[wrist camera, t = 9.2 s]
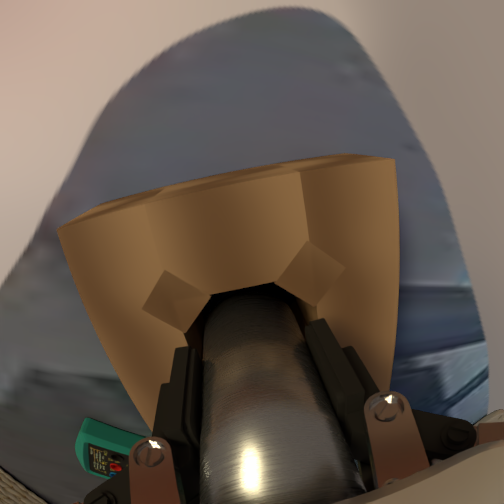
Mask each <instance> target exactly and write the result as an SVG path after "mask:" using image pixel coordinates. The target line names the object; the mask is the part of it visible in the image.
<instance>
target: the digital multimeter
mask: <svg viewBox="0 0 504 504" xmlns="http://www.w3.org/2000/svg"><path fill="white" fill-rule="evenodd" d="M144 438H147V437H144V436H141V435H138V434H134V433H131V432H128V431H124V430H121V429H118V428H116V427H113V426H110V425H107V424H105V423H102V422H100V421H97V420H94V419H91V418H85V420H84V422H83V424H82V426H81V429H80V431H79V434H78V437H77V440H76V444H75V451H76V455H77V457H78V459H79V461H80V463H81V465H82V467H83V468H84V469H85V470H86V471H87V472H88V473H91V474H94V475H97V476H100V477H103V478H106V479H110V478H111V477H113V476H114V475H115V474H117V473H118V472H120V471H121V470H122V469H124V468H125V467H127V466H128V465H129V453H130V450H131V448H132V446H133V445H134V444H135V443H136V442H138V441H140V440H141V439H144ZM88 452H89V454H88Z"/></svg>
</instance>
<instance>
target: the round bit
mask: <svg viewBox="0 0 504 504" xmlns="http://www.w3.org/2000/svg"><path fill="white" fill-rule="evenodd" d="M365 493H367V491H366V489H365V486H364V484H363V481H362V479H361V476H360V474H359V471H358V469H357V466H356V464H355V461H354V459H353V456H352V454H351V451H350V449H349V446H348V444H347V441H346V439H345V436H344V434H343V431H342V429H341V426H340V424H339V422H338V419H337V417H336V414H335V412H334V409H333V407H332V404H331V402H330V400H329V397H328V395H327V392H326V390H325V387H324V385H323V383H322V380H321V378H320V375H319V373H318V371H317V368H316V366H315V363H314V361H313V359H312V356H311V354H310V351H309V349H308V347H307V344H306V342H305V340H304V337H303V335H302V332H301V330H300V328H299V325H298V323H297V321H296V318H295V316H294V314H293V312H292V310H291V308H290V307H289V306H288V305H287V304H286V303H285V302H284V301H283V300H281V299H280V298H278V297H276V296H274V295H271V294H268V293H264V292H256V291H252V292H242V293H238V294H235V295H232V296H230V297H228V298H226V299H224V300H223V301H221V302H220V303H219V304H217V305H216V306H215V307H214V308H213V310H212V311H211V312H210V314H209V316H208V318H207V320H206V323H205V328H204V344H203V364H202V388H201V419H200V504H332V503H336V502H339V501H343V500H346V499H349V498H353V497H356V496H359V495H362V494H365Z"/></svg>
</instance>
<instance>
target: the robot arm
mask: <svg viewBox="0 0 504 504" xmlns="http://www.w3.org/2000/svg"><path fill="white" fill-rule="evenodd" d="M305 336H306V344H307V347H308V349H309V351H310V354H311V356H312V359H313V361H314V363H315V366H316V368H317V371H318V373H319V375H320V378H321V380H322V383H323V385H324V387H325V390H326V392H327V395H328V397H329V400H330V402H331V404H332V407H333V409H334V412H335V414H336V417H337V419H338V422H339V424H340V426H341V429H342V431H343V434H344V436H345V439H346V441H347V444H348V446H349V449H350V451H351V454H352V456H353V459H355V460H357V462H358V469H359V474H360V476H361V479H362V481H363V484H364V486H365V489H366V491H367V493H365V494H362V495H359V496H356V497H353V498H349V499H346V500H343V501H339V502H336V503H332V504H504V410H503V409H499V410H496V411H494V412H492V413H490V414H488V415H487V416H485V417H484V418H482V419H481V420H480V421H478V422H477V423H476V424H474V425H472V424H471V423H469V422H468V421H466V420H462V419H458V418H452V417H447V416H442V415H437V414H433V413H428V412H423V411H419V410H414V409H411V408H410V405H409V402H408V401H407V399H406V398H405V397H404V396H403V395H402V394H400V393H397V392H394V391H381V392H380V390H379V389H378V387H377V385H376V384H375V382H374V380H373V379H372V377H371V375H370V374H369V372H368V370H367V369H366V367H365V365H364V364H363V362H362V360H361V359H360V357H359V355H358V354H357V352H356V351H355V349H354V348H353V346H347V347H344V348H341V347H340V345H339V343H338V341H337V340H336V338H335V336H334V334H333V333H332V331H331V329H330V327H329V325H328V324H327V322H326V320H325V319H324V318H321V319H317V320H313V321H310V322H309V326H305ZM201 388H202V362H201V359H200V356H199V354H198V351H197V349H192V348H191V346H184V347H178V348H175V352H174V358H173V363H172V369H171V375H170V382H169V383H162V384H161V387H160V391H159V397H158V402H157V408H156V414H155V420H154V426H153V432H152V437H147V438H144V439H141V440H140V441H138V442H136V443H135V444H134V445H133V446H132V448H131V450H130V453H129V465H128V466H127V467H125V468H124V469H122V470H121V471H120V472H118V473H117V474H115V475H114V476H113V477H111V478H110V479H108V480H107V481H105V482H104V483H103V484H101V485H100V486H98V487H97V488H95V489H94V490H92V491H91V492H90V493H89V494H87V496H86V497H85V499H84V502H83V503H80V502H78V501H77V502H75V503H72V504H200V419H201Z"/></svg>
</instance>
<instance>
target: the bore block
mask: <svg viewBox="0 0 504 504" xmlns="http://www.w3.org/2000/svg"><path fill="white" fill-rule="evenodd" d="M57 232H58V236H59V239H60V242H61V245H62V248H63V251H64V254H65V257H66V260H67V263H68V265H69V268H70V271H71V274H72V276H73V279H74V282H75V284H76V287H77V289H78V292H79V294H80V297H81V299H82V301H83V304H84V306H85V309H86V311H87V313H88V316H89V318H90V320H91V322H92V324H93V327H94V329H95V331H96V333H97V335H98V337H99V339H100V341H101V344H102V346H103V348H104V350H105V352H106V354H107V356H108V358H109V359H110V361H111V363H112V365H113V367H114V369H115V371H116V373H117V375H118V376H119V378H120V380H121V382H122V384H123V385H124V387H125V389H126V391H127V392H128V394H129V396H130V397H131V399H132V401H133V403H134V404H135V406H136V407H137V409H138V411H139V412H140V414H141V416H142V417H143V419H144V420H145V422H146V423H147V425H148V426H149V428H150V429H151V431H152V432H153V426H154V420H155V414H156V408H157V402H158V397H159V391H160V387H161V384H162V383H169V382H170V375H171V369H172V363H173V358H174V352H175V348H178V347H184V346H191V348H192V349H197V351H198V354H199V356H200V359H201V362H202V364H203V344H204V328H205V323H206V320H207V319H204V318H203V315H202V312H201V310H202V309H203V308H204V306H205V305H206V303H207V302H208V300H209V299H210V297H211V294H216V293H221V292H226V291H231V290H236V289H241V288H246V287H251V286H256V285H261V284H265V283H270V282H274V283H275V284H277V285H278V286H280V287H282V288H283V289H285V290H287V291H288V292H290V293H292V294H293V295H295V296H296V301H294V302H293V303H292V304H291V306H290V308H291V310H292V312H293V314H294V316H295V318H296V321H297V323H298V325H299V328H300V330H301V332H302V335H303V337H304V340H305V342H306V336H305V326H309V322H310V321H313V320H317V319H321V318H324V319H325V320H326V322H327V324H328V325H329V327H330V329H331V331H332V333H333V334H334V336H335V338H336V340H337V341H338V343H339V345H340V347H341V348H344V347H347V346H353V348H354V349H355V351H356V352H357V354H358V355H359V357H360V359H361V360H362V362H363V364H364V365H365V367H366V369H367V370H368V372H369V374H370V375H371V377H372V379H373V380H374V382H375V384H376V385H377V387H378V389H379V390H380V392H381V391H389V388H390V381H391V374H392V366H393V358H394V349H395V339H396V328H397V314H398V297H399V260H400V247H399V210H398V193H397V180H396V168H395V159H390V158H382V157H374V156H366V155H357V154H348V153H344V154H336V155H329V156H321V157H314V158H308V159H301V160H295V161H288V162H282V163H276V164H270V165H265V166H259V167H254V168H248V169H243V170H238V171H233V172H228V173H223V174H218V175H213V176H209V177H204V178H200V179H195V180H191V181H186V182H182V183H178V184H174V185H169V186H165V187H161V188H157V189H153V190H149V191H145V192H142V193H138V194H134V195H130V196H127V197H123V198H119V199H116V200H112V201H109V202H105V203H102V204H100V205H98V206H96V207H94V208H92V209H91V210H89V211H87V212H85V213H83V214H82V215H80V216H78V217H76V218H75V219H73V220H71V221H69V222H68V223H66V224H64V225H63V226H61V227H59V228H58V229H57Z"/></svg>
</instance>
